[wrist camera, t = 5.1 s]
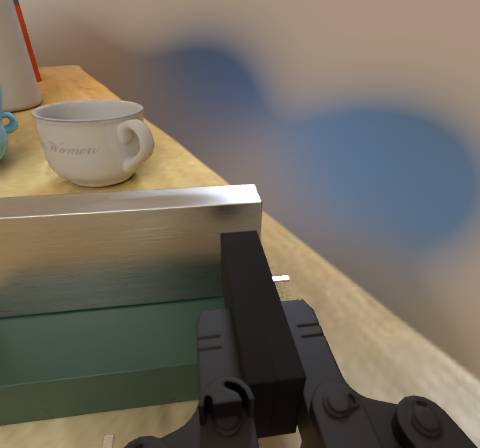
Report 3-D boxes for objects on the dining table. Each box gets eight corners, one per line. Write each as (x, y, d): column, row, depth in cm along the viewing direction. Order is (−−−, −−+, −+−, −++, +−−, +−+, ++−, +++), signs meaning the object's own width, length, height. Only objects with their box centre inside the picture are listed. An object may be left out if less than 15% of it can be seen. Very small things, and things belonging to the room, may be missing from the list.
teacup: (39, 175, 39) (15, 104, 35) (124, 152, 46) (112, 90, 42) (93, 220, 31) (70, 136, 27) (186, 185, 38) (180, 112, 33)
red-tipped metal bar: (251, 270, 21) (255, 179, 18) (257, 293, 19) (262, 197, 16) (9, 291, 19) (-39, 194, 16) (-7, 318, 17) (-65, 216, 14)
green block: (258, 235, 30) (260, 203, 28) (337, 474, 14) (351, 438, 13) (38, 251, 27) (25, 217, 26) (-142, 555, 12) (-204, 525, 10)
